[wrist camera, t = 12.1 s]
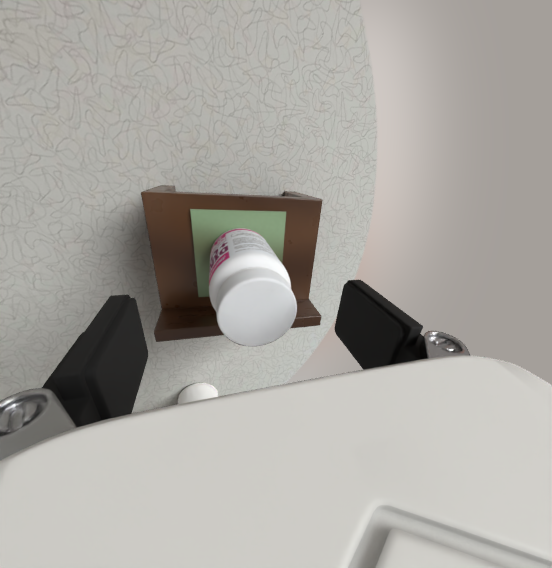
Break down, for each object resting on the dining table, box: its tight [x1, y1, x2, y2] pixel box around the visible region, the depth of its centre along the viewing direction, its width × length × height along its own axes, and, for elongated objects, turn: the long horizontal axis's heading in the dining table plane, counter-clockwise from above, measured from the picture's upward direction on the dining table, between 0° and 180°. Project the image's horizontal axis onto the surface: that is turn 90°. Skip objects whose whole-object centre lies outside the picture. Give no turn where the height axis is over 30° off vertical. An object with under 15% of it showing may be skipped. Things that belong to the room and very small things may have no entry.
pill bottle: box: [209, 228, 297, 347], centre depth 15 cm, size 5×5×8 cm
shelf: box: [141, 185, 322, 342], centre depth 21 cm, size 10×13×10 cm
